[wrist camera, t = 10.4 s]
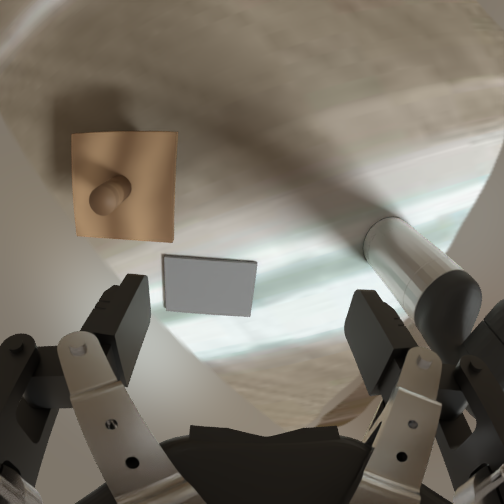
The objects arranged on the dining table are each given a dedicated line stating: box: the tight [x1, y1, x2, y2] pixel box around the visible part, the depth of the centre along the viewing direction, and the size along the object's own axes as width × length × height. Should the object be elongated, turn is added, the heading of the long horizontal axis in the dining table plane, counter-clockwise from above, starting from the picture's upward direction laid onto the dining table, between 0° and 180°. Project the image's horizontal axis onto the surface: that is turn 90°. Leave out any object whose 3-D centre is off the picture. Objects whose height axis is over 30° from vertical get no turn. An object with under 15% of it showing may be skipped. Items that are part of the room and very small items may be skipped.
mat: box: [164, 255, 257, 317], centre depth 48 cm, size 14×10×1 cm
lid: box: [71, 131, 178, 243], centre depth 28 cm, size 12×12×6 cm
